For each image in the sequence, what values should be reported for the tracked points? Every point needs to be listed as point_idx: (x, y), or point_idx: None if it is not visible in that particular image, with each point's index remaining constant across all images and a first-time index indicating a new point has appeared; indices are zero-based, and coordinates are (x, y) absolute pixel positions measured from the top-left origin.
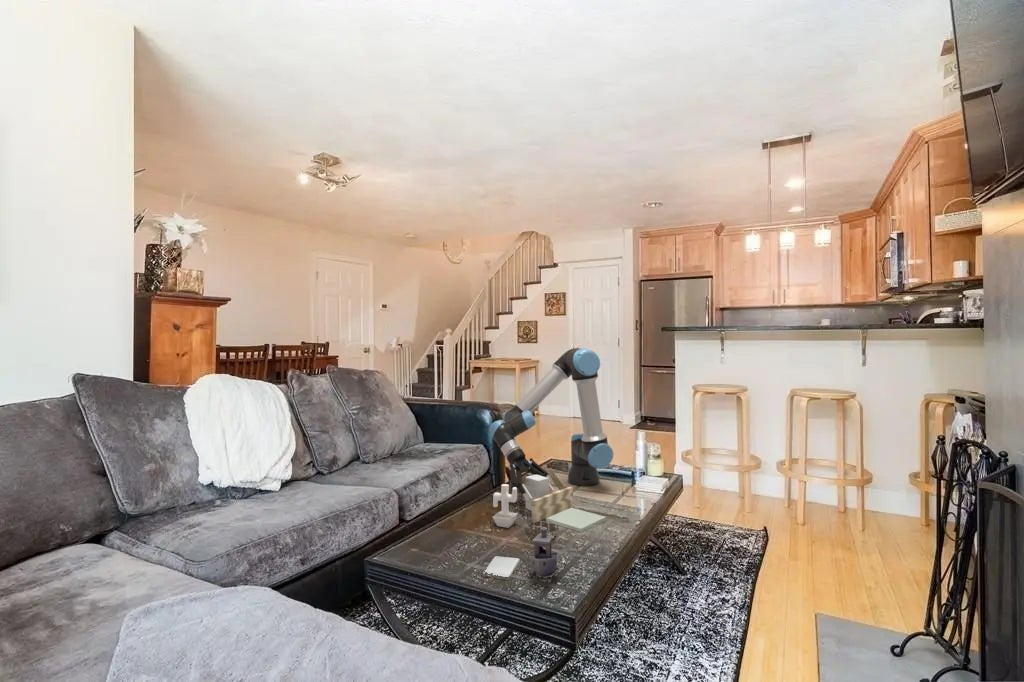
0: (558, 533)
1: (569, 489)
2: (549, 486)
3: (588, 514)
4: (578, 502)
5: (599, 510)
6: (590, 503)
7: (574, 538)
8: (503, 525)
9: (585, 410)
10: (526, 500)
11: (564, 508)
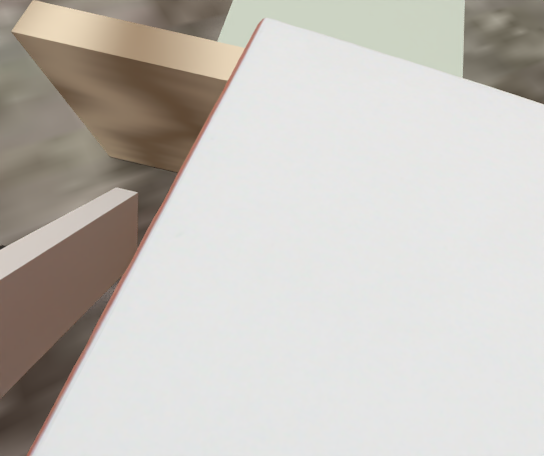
0: (537, 70)
1: (97, 23)
2: (98, 229)
3: (265, 2)
4: (9, 134)
5: (127, 3)
6: (10, 68)
7: (530, 5)
8: None
9: None
10: None
11: None
